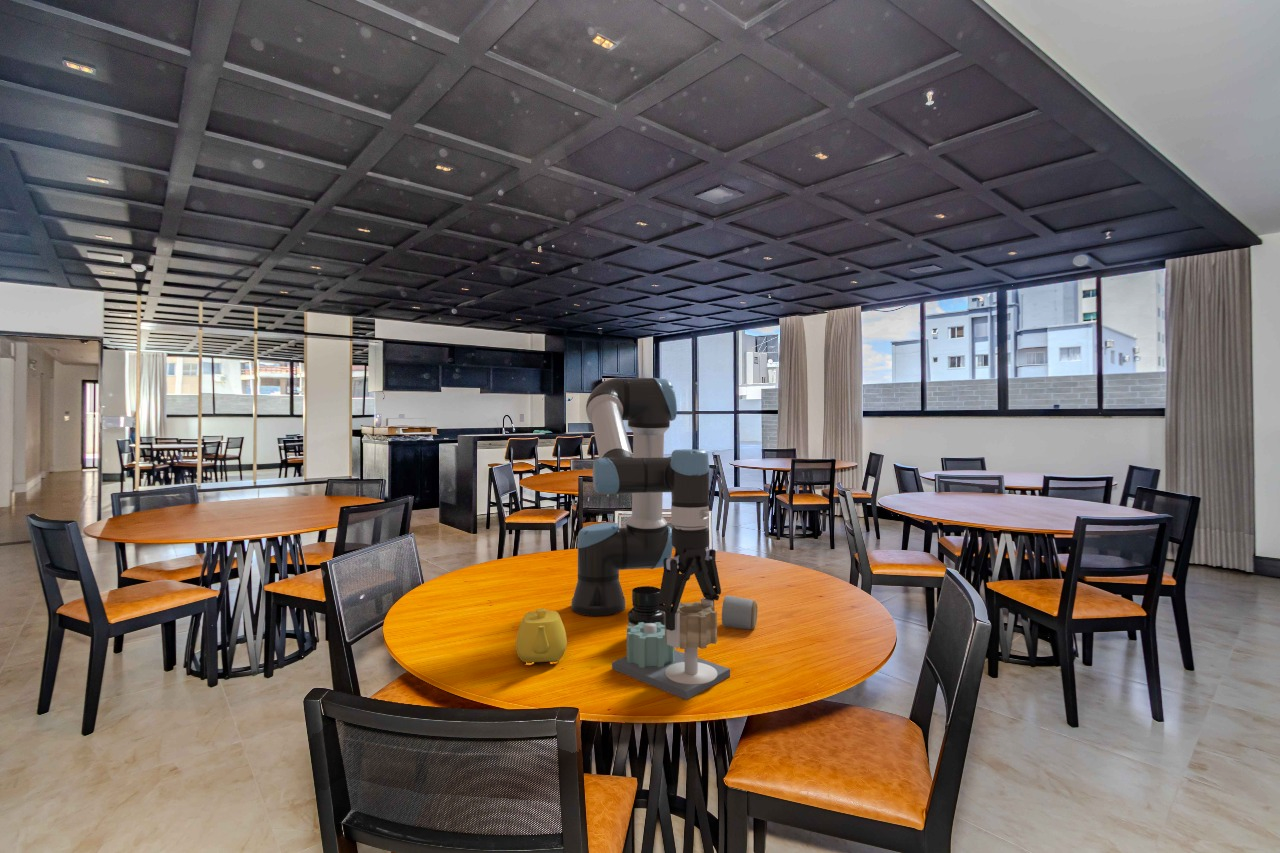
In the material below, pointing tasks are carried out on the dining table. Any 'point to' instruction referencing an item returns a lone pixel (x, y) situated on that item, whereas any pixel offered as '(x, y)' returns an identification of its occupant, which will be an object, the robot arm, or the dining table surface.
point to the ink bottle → (645, 606)
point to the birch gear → (696, 625)
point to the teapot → (541, 637)
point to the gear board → (666, 663)
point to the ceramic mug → (739, 612)
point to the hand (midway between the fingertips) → (690, 638)
